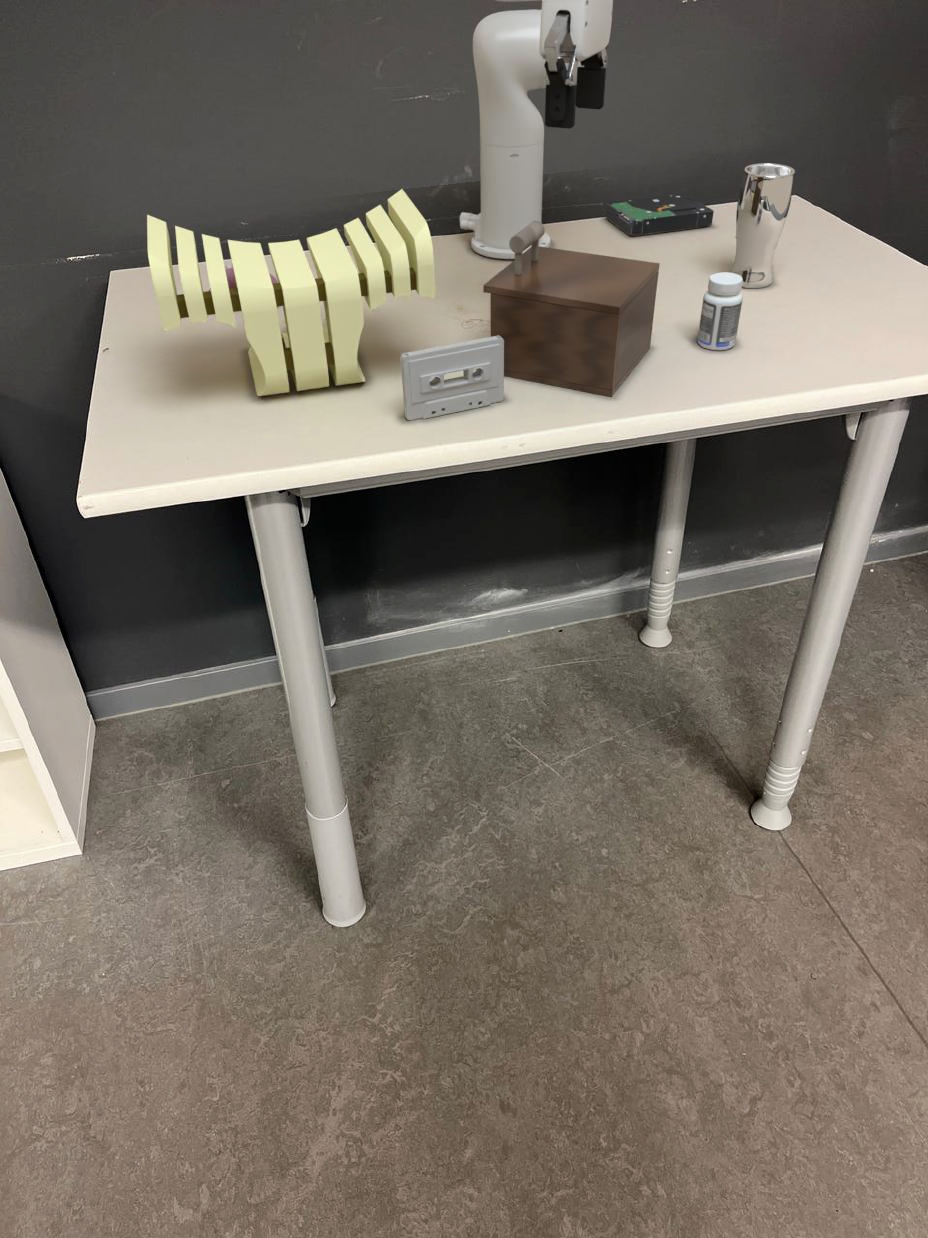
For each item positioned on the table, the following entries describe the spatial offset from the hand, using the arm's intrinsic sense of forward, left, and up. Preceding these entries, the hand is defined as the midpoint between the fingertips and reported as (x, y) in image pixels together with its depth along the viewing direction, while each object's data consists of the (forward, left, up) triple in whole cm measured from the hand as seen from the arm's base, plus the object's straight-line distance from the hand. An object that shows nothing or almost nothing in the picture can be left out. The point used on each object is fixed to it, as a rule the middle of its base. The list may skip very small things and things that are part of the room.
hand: (574, 116), depth 102 cm
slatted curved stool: (-26, -20, -26) cm, 42 cm away
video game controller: (-45, -7, -26) cm, 53 cm away
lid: (+2, -4, -16) cm, 17 cm away
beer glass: (+17, +31, -26) cm, 44 cm away
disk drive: (-3, +51, -26) cm, 57 cm away
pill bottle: (+18, +8, -26) cm, 33 cm away
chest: (+3, -4, -26) cm, 27 cm away
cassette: (-5, -22, -26) cm, 35 cm away
